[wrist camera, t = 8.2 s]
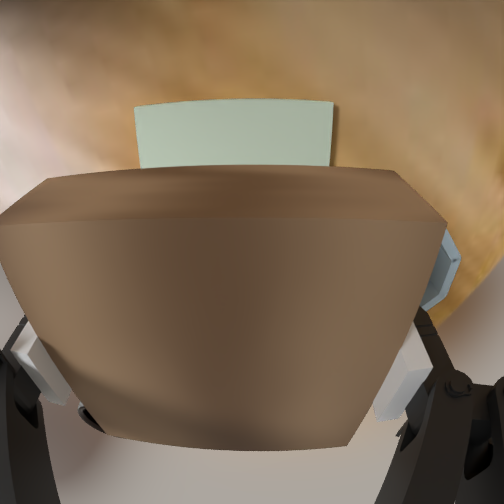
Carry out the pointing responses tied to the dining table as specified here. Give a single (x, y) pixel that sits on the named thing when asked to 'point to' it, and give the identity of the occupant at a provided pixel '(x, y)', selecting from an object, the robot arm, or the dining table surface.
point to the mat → (234, 132)
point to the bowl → (441, 273)
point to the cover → (223, 296)
